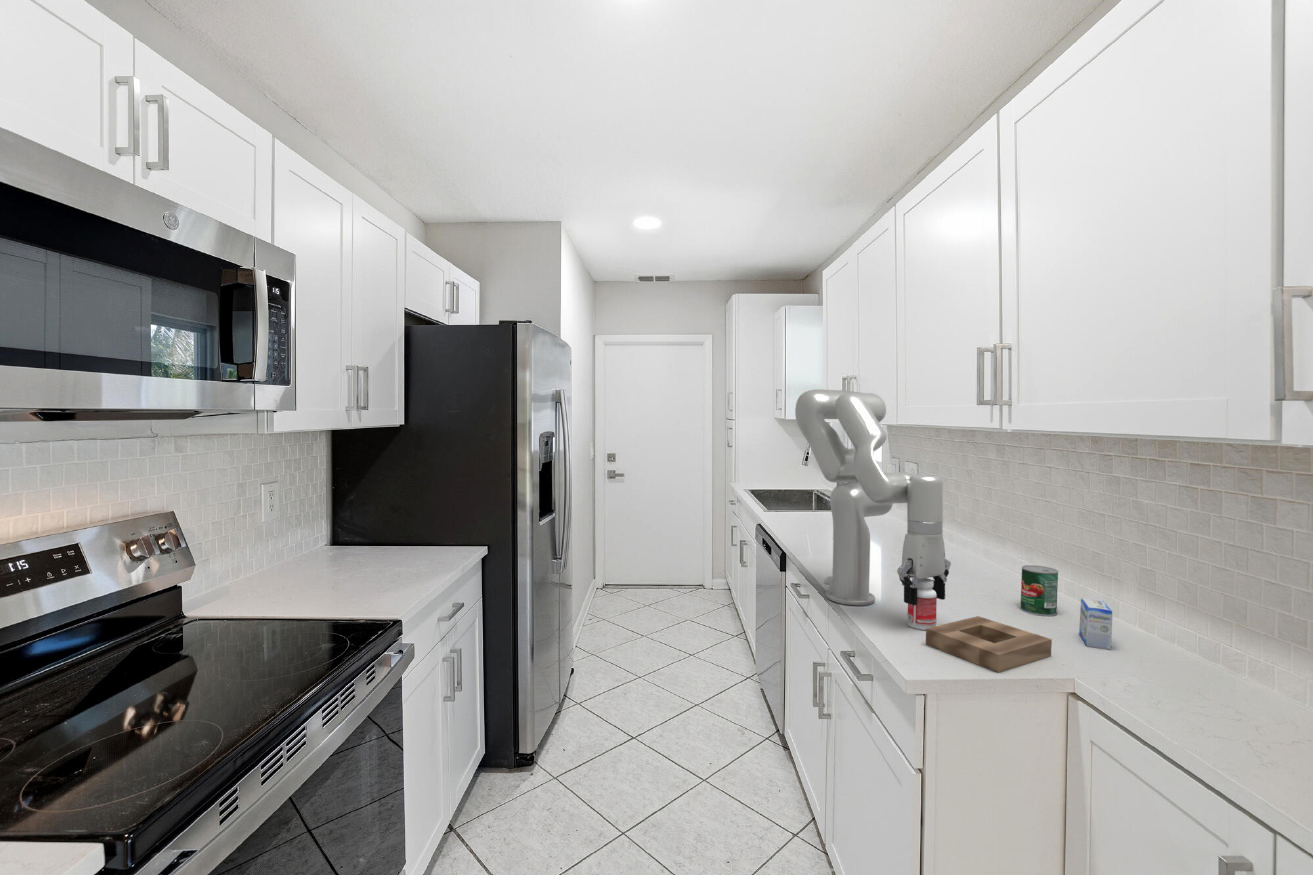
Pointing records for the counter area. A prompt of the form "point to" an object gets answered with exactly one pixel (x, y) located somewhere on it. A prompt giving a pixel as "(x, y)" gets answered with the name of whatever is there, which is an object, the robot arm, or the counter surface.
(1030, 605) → the canned tomato
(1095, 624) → the medicine box
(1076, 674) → the counter surface
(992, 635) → the walnut frame
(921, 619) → the pill bottle
